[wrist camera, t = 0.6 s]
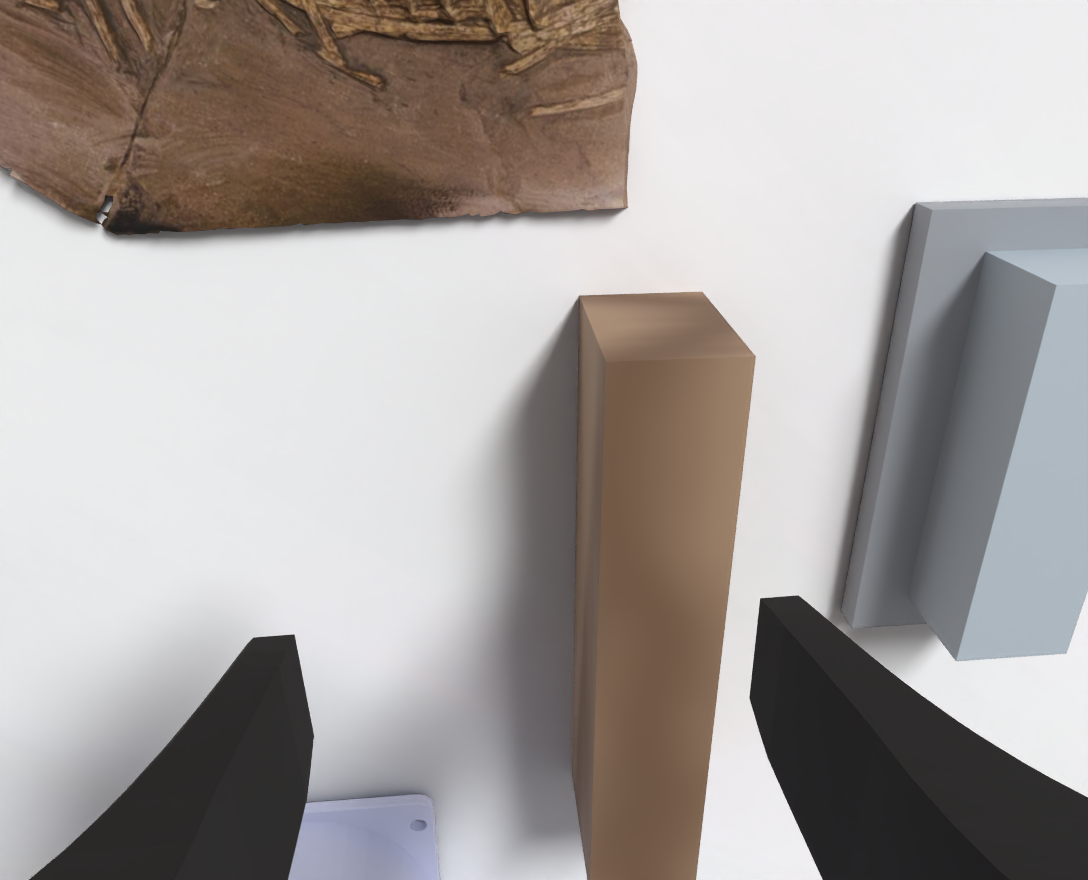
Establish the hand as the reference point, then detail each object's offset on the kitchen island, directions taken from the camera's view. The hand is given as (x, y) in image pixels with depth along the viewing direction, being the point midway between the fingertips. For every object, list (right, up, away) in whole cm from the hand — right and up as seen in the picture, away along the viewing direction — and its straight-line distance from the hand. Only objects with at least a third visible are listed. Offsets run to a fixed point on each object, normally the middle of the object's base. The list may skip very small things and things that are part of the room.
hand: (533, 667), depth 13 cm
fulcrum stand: (+12, +4, +10) cm, 16 cm away
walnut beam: (+3, 0, +11) cm, 12 cm away
